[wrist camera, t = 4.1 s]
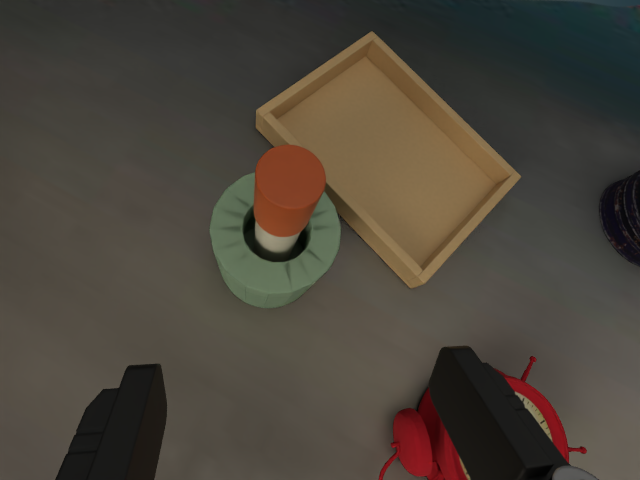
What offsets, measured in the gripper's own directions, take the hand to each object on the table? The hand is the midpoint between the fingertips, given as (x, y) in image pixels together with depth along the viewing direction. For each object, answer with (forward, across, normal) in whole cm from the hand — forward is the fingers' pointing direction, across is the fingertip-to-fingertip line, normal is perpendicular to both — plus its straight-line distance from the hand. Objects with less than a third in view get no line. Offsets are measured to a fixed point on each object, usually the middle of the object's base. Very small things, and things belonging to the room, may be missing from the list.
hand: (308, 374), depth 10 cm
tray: (+25, -11, +1) cm, 27 cm away
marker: (+18, 0, +7) cm, 19 cm away
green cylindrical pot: (+18, 0, +7) cm, 19 cm away
